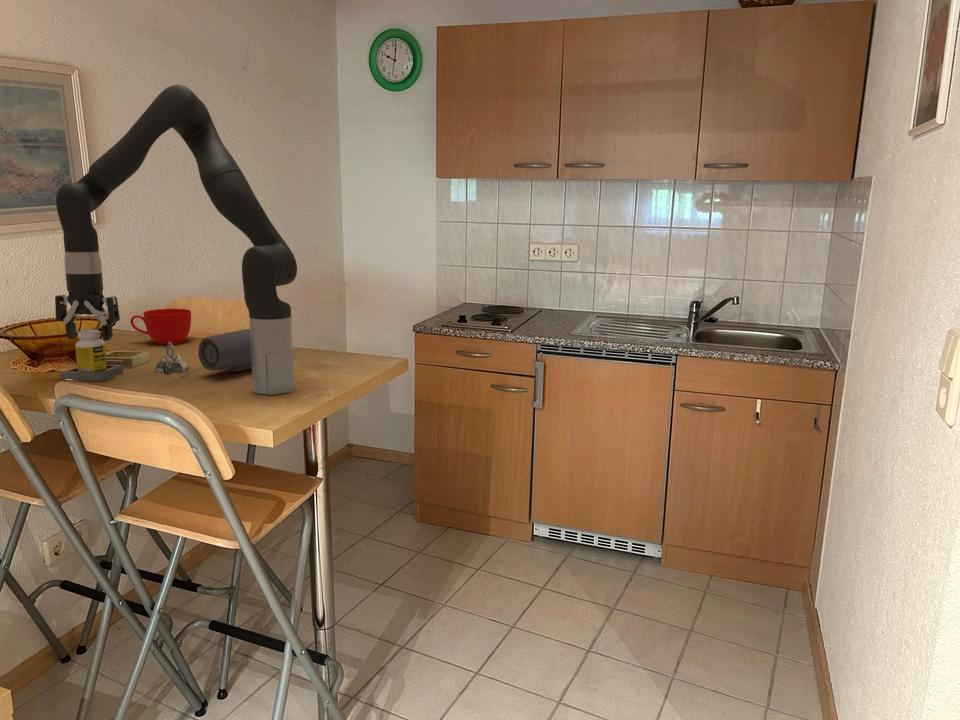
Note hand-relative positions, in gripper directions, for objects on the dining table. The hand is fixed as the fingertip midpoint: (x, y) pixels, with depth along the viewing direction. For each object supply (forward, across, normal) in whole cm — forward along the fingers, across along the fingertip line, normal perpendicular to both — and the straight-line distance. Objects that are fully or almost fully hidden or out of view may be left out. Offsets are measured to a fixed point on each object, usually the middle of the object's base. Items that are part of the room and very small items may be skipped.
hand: (89, 339), depth 171 cm
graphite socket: (+9, 0, 0) cm, 9 cm away
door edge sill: (+9, +1, -7) cm, 11 cm away
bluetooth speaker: (+9, -32, -15) cm, 37 cm away
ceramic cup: (+10, +5, -43) cm, 44 cm away
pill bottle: (+9, 0, 0) cm, 9 cm away
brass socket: (+9, +1, -15) cm, 17 cm away
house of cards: (+10, -15, -6) cm, 19 cm away
